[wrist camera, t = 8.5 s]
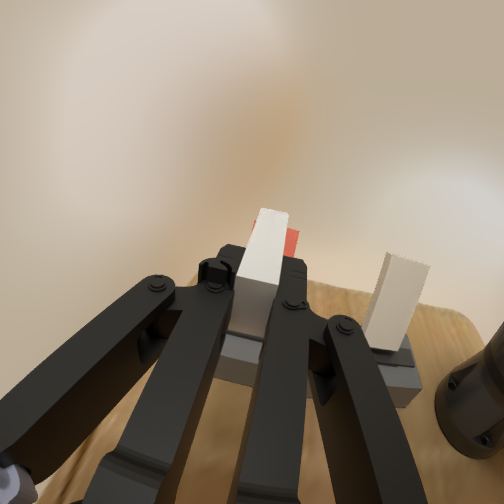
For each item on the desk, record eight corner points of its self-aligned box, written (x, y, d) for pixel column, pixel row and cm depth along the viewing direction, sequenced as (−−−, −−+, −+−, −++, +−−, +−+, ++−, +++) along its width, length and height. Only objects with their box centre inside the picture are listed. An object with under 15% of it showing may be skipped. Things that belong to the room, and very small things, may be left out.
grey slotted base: (393, 354, 35) (408, 331, 33) (404, 407, 28) (424, 386, 25) (205, 314, 37) (208, 287, 34) (182, 367, 29) (183, 340, 27)
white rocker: (392, 348, 30) (424, 262, 28) (396, 355, 28) (430, 266, 26) (354, 342, 30) (385, 251, 28) (357, 349, 29) (390, 254, 27)
